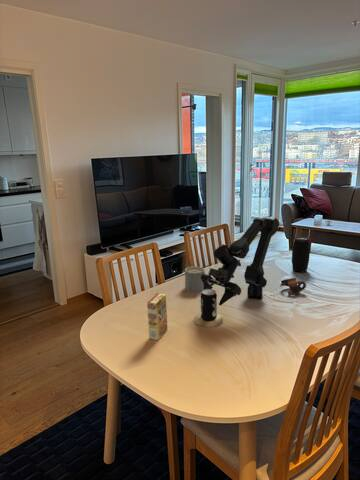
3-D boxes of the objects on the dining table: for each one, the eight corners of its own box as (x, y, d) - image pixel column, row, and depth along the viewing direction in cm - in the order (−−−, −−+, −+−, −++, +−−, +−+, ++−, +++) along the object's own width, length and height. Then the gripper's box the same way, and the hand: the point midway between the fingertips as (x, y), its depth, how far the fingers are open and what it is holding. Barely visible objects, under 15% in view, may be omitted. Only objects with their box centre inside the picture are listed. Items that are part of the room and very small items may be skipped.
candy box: (158, 340, 135) (157, 303, 131) (148, 338, 136) (146, 301, 132) (167, 329, 143) (166, 294, 139) (158, 328, 144) (156, 292, 140)
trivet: (225, 315, 154) (225, 313, 153) (219, 328, 143) (219, 327, 142) (198, 312, 157) (198, 310, 157) (190, 324, 146) (190, 323, 146)
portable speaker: (288, 268, 209) (290, 236, 204) (303, 267, 210) (306, 235, 205) (295, 273, 201) (297, 240, 196) (311, 272, 202) (313, 239, 197)
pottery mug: (282, 297, 172) (278, 280, 174) (283, 298, 181) (279, 282, 183) (308, 292, 169) (304, 275, 171) (307, 293, 178) (304, 277, 180)
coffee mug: (195, 293, 177) (195, 274, 174) (181, 288, 184) (181, 269, 181) (213, 286, 186) (213, 267, 183) (199, 281, 193) (199, 263, 190)
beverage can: (209, 323, 145) (209, 296, 142) (197, 318, 150) (197, 292, 147) (219, 317, 150) (219, 291, 147) (207, 313, 154) (207, 287, 151)
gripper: (202, 255, 155) (185, 287, 150) (237, 265, 141) (219, 299, 137) (214, 268, 162) (198, 298, 158) (248, 278, 149) (232, 311, 144)
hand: (211, 301), depth 149 cm, fingers open, 9 cm apart
